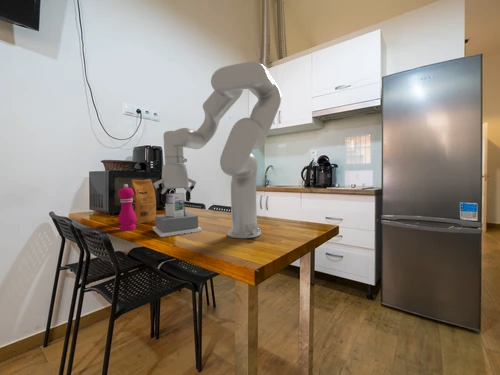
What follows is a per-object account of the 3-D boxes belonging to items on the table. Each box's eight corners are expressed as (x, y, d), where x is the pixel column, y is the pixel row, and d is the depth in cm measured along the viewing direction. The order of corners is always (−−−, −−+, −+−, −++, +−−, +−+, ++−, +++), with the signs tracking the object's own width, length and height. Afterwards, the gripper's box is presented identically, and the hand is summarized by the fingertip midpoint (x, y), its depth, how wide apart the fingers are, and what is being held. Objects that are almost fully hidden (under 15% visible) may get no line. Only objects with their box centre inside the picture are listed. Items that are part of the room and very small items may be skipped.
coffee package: (125, 223, 119) (123, 179, 118) (148, 219, 129) (146, 179, 128) (135, 225, 113) (133, 179, 112) (159, 221, 123) (157, 178, 122)
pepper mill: (140, 227, 107) (138, 183, 106) (130, 231, 100) (128, 184, 99) (125, 227, 108) (123, 183, 107) (114, 231, 101) (112, 184, 100)
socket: (201, 231, 97) (201, 216, 97) (160, 237, 88) (160, 220, 88) (189, 224, 110) (188, 211, 110) (152, 229, 102) (152, 215, 102)
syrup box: (175, 229, 95) (173, 193, 94) (165, 228, 98) (164, 193, 98) (186, 227, 100) (184, 192, 99) (176, 225, 103) (175, 192, 102)
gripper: (191, 162, 106) (193, 200, 106) (150, 162, 97) (152, 203, 97) (197, 160, 99) (199, 201, 100) (154, 160, 90) (156, 205, 91)
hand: (176, 202), depth 99 cm, fingers open, 9 cm apart
